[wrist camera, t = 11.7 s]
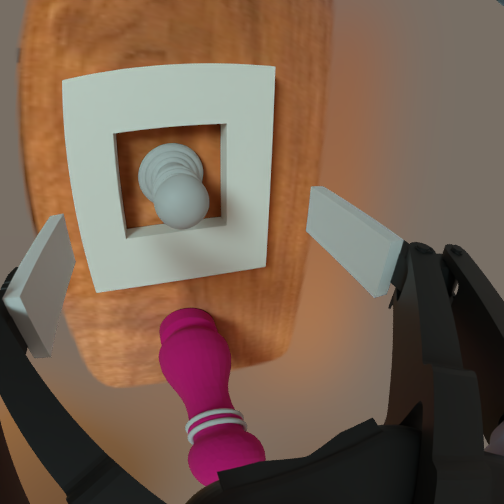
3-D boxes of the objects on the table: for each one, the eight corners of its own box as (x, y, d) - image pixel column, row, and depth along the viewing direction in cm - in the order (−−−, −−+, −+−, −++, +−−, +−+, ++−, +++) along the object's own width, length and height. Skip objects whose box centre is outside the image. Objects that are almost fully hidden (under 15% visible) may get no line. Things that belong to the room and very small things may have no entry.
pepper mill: (153, 305, 29) (194, 503, 12) (221, 301, 31) (303, 476, 15) (156, 353, 32) (195, 519, 16) (216, 348, 35) (278, 500, 18)
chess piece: (178, 129, 22) (195, 144, 14) (214, 178, 25) (247, 218, 17) (125, 170, 22) (115, 207, 14) (164, 216, 25) (175, 271, 17)
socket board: (69, 81, 17) (62, 80, 15) (265, 68, 21) (275, 66, 20) (98, 280, 25) (96, 292, 24) (258, 256, 30) (265, 266, 29)
